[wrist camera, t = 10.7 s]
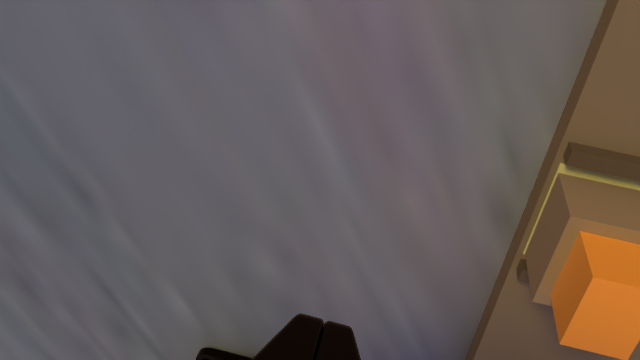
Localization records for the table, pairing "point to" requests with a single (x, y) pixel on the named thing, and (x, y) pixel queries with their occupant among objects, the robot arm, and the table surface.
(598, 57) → the panel
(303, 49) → the table surface
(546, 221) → the toggle
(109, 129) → the table surface
